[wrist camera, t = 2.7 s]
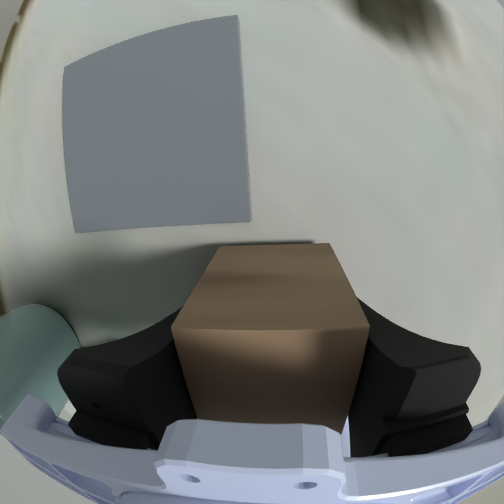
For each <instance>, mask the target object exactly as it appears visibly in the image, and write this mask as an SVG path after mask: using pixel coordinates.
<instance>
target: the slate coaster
mask: <svg viewBox="0 0 504 504" xmlns="http://www.w3.org/2000/svg"><path fill="white" fill-rule="evenodd" d="M63 140H64V155H65V166H66V176H67V184H68V191H69V198H70V205H71V211H72V216H73V222H74V227H75V232H76V233H84V232H95V231H107V230H120V229H133V228H147V227H162V226H179V225H197V224H217V223H239V222H251V219H252V215H251V200H250V184H249V168H248V153H247V137H246V121H245V106H244V91H243V75H242V60H241V45H240V30H239V19H238V16H237V15H233V16H225V17H218V18H212V19H206V20H200V21H195V22H190V23H186V24H181V25H177V26H173V27H169V28H165V29H161V30H157V31H154V32H150V33H147V34H144V35H141V36H138V37H134V38H132V39H129V40H126V41H123V42H120V43H117V44H115V45H112V46H110V47H107V48H105V49H102V50H100V51H97V52H95V53H93V54H91V55H88V56H86V57H84V58H82V59H80V60H78V61H75V62H73V63H71V64H69V65H67V66H65V67H64V78H63Z"/></svg>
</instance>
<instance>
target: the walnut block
mask: <svg viewBox="0 0 504 504" xmlns="http://www.w3.org/2000/svg"><path fill="white" fill-rule="evenodd" d="M369 327H370V325H369V323H368V321H367V319H366V316H365V314H364V312H363V310H362V308H361V306H360V304H359V301H358V299H357V297H356V295H355V293H354V291H353V289H352V287H351V285H350V283H349V281H348V279H347V277H346V275H345V273H344V271H343V269H342V267H341V265H340V263H339V261H338V259H337V257H336V255H335V253H334V251H333V249H332V247H331V246H330V244H329V243H320V244H278V245H240V246H220V247H219V248H218V250H217V252H216V253H215V255H214V256H213V258H212V260H211V261H210V263H209V264H208V266H207V268H206V269H205V271H204V273H203V274H202V276H201V278H200V279H199V281H198V282H197V284H196V286H195V287H194V289H193V291H192V292H191V294H190V296H189V297H188V299H187V301H186V302H185V304H184V306H183V307H182V309H181V311H180V312H179V314H178V316H177V317H176V319H175V321H174V323H173V324H172V326H171V330H172V334H173V338H174V342H175V346H176V350H177V353H178V357H179V360H180V364H181V368H182V371H183V374H184V378H185V381H186V384H187V388H188V391H189V394H190V397H191V400H192V403H193V406H194V409H195V412H196V415H197V418H198V419H202V420H212V421H223V422H236V423H259V424H294V423H304V424H315V425H323V426H326V427H328V428H330V429H332V430H334V431H336V432H338V433H340V435H342V432H343V429H344V426H345V422H346V419H347V416H348V413H349V410H350V406H351V403H352V399H353V396H354V392H355V389H356V385H357V381H358V377H359V373H360V369H361V365H362V361H363V356H364V352H365V347H366V342H367V338H368V333H369Z"/></svg>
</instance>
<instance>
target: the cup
mask: <svg viewBox="0 0 504 504" xmlns="http://www.w3.org/2000/svg"><path fill="white" fill-rule="evenodd" d="M78 348H81V347H80V344H79V342H78V339H77V337H76V335H75V333H74V331H73V330H72V328H71V327H70V325H69V324H68V323H67V321H66V320H65V319H64V318H63V317H62V316H61V315H60V314H59V313H57V312H56V311H55V310H53V309H51V308H49V307H47V306H44V305H40V304H26V305H22V306H20V307H17V308H15V309H13V310H11V311H9V312H7V313H5V314H4V315H2V316H0V429H1V428H2V426H3V425H4V424H5V422H6V421H7V420H8V418H9V417H10V416H11V414H12V413H13V412H14V411H15V409H16V408H17V407H18V406H19V404H20V403H21V402H22V401H23V399H24V398H25V397H26V396H27V394H30V395H32V396H34V397H36V398H38V399H40V400H42V401H44V402H46V403H47V404H48V405H49V406H50V407H51V408H52V410H53V411H54V413H55V414H56V416H57V417H58V416H59V414H60V413H61V411H62V410H63V408H64V406H65V405H66V403H67V401H68V400H69V398H68V397H67V395H66V394H65V392H64V390H63V389H62V387H61V385H60V383H59V380H58V376H57V370H58V368H59V367H60V366H61V364H62V363H63V362H64V361H65V360H66V358H67V357H68V356H69V355H70V354H71V352H72V351H73V350H74V349H78ZM0 434H2V433H1V432H0Z"/></svg>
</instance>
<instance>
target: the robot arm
mask: <svg viewBox="0 0 504 504" xmlns="http://www.w3.org/2000/svg"><path fill="white" fill-rule="evenodd" d="M357 299H358V298H357ZM358 301H359V304H360V306H361V308H362V310H363V312H364V314H365V316H366V319H367V321H368V323H369V325H370V327H369V333H368V338H367V342H366V347H365V352H364V356H363V361H362V365H361V369H360V373H359V377H358V381H357V385H356V389H355V392H354V396H353V399H352V403H351V406H350V410H349V413H348V416H347V419H346V422H345V426H344V429H343V432H342V435H340V433H338V432H336V431H334V430H332V429H330V428H328V427H326V426H323V425H315V424H304V423H294V424H259V423H236V422H223V421H212V420H202V419H197V415H196V412H195V409H194V406H193V403H192V400H191V397H190V394H189V391H188V388H187V384H186V381H185V378H184V374H183V371H182V368H181V364H180V360H179V357H178V353H177V350H176V346H175V342H174V338H173V334H172V330H171V326H172V324H173V323H174V321H175V319H176V317H177V316H178V314H179V312H180V311H181V309H182V307H181V308H180V309H179V310H177V311H176V312H174V313H173V314H171V315H169V316H168V317H166V318H165V319H163V320H162V321H160V322H158V323H156V324H155V325H153V326H151V327H149V328H147V329H145V330H143V331H140V332H138V333H135V334H133V335H130V336H128V337H125V338H122V339H119V340H116V341H113V342H109V343H105V344H101V345H97V346H91V347H85V348H78V349H74V350H73V351H72V352H71V354H70V355H69V356H68V357H67V358H66V360H65V361H64V362H63V363H62V364H61V366H60V367H59V368H58V370H57V376H58V380H59V383H60V385H61V387H62V389H63V390H64V392H65V394H66V395H67V397H68V398H69V400H70V401H71V403H72V404H73V406H74V407H75V409H76V410H77V411H76V412H75V414H74V415H73V417H72V419H71V420H70V422H68V421H65V420H63V419H61V418H59V417H57V416H56V414H55V413H54V411H53V410H52V408H51V407H50V406H49V405H48V404H47V403H46V402H44V401H42V400H40V399H38V398H36V397H34V396H32V395H30V394H27V396H26V397H25V398H24V399H23V401H22V402H21V403H20V404H19V406H18V407H17V408H16V409H15V411H14V412H13V413H12V414H11V416H10V417H9V418H8V420H7V421H6V422H5V424H4V425H3V426H2V428H1V429H0V432H1V433H2V435H3V436H4V437H5V438H6V439H7V440H8V441H9V442H10V443H11V444H12V445H13V446H14V447H15V449H17V450H18V452H19V453H21V455H22V456H23V457H25V458H26V459H27V460H28V461H29V462H30V463H31V464H32V465H33V466H34V467H36V468H37V469H39V470H40V471H42V472H43V473H45V474H46V475H48V476H50V477H51V478H53V479H55V480H56V481H58V482H59V483H61V484H63V485H64V486H66V487H68V488H69V489H71V490H73V491H75V492H76V493H78V494H81V495H82V496H84V497H85V498H87V499H89V500H91V501H93V502H95V503H97V504H456V503H458V502H460V501H462V500H464V499H466V498H468V497H470V496H471V495H473V494H475V493H477V492H479V491H480V490H482V489H484V488H486V487H487V486H489V485H491V484H492V483H494V482H496V481H497V480H499V479H500V478H502V477H504V403H502V404H500V405H499V406H498V407H497V408H495V410H494V411H493V412H492V414H491V415H490V417H489V419H488V420H487V421H484V422H482V423H480V424H478V425H475V426H473V427H472V426H471V424H470V422H469V420H468V418H467V416H466V414H467V413H468V411H469V408H468V406H467V404H466V401H467V399H468V397H469V396H470V394H471V392H472V391H473V389H474V387H475V385H476V383H477V381H478V379H479V376H480V372H481V366H480V362H479V361H478V360H477V358H476V357H475V355H474V354H473V353H472V351H471V350H470V349H469V347H464V346H458V345H453V344H447V343H443V342H439V341H436V340H432V339H429V338H426V337H423V336H420V335H418V334H415V333H413V332H411V331H408V330H406V329H404V328H402V327H400V326H398V325H396V324H394V323H393V322H391V321H389V320H388V319H386V318H385V317H383V316H381V315H380V314H378V313H377V312H376V311H374V310H373V309H371V308H370V307H369V306H367V305H366V304H365V303H364V302H362V301H361V300H360V299H358Z"/></svg>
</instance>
